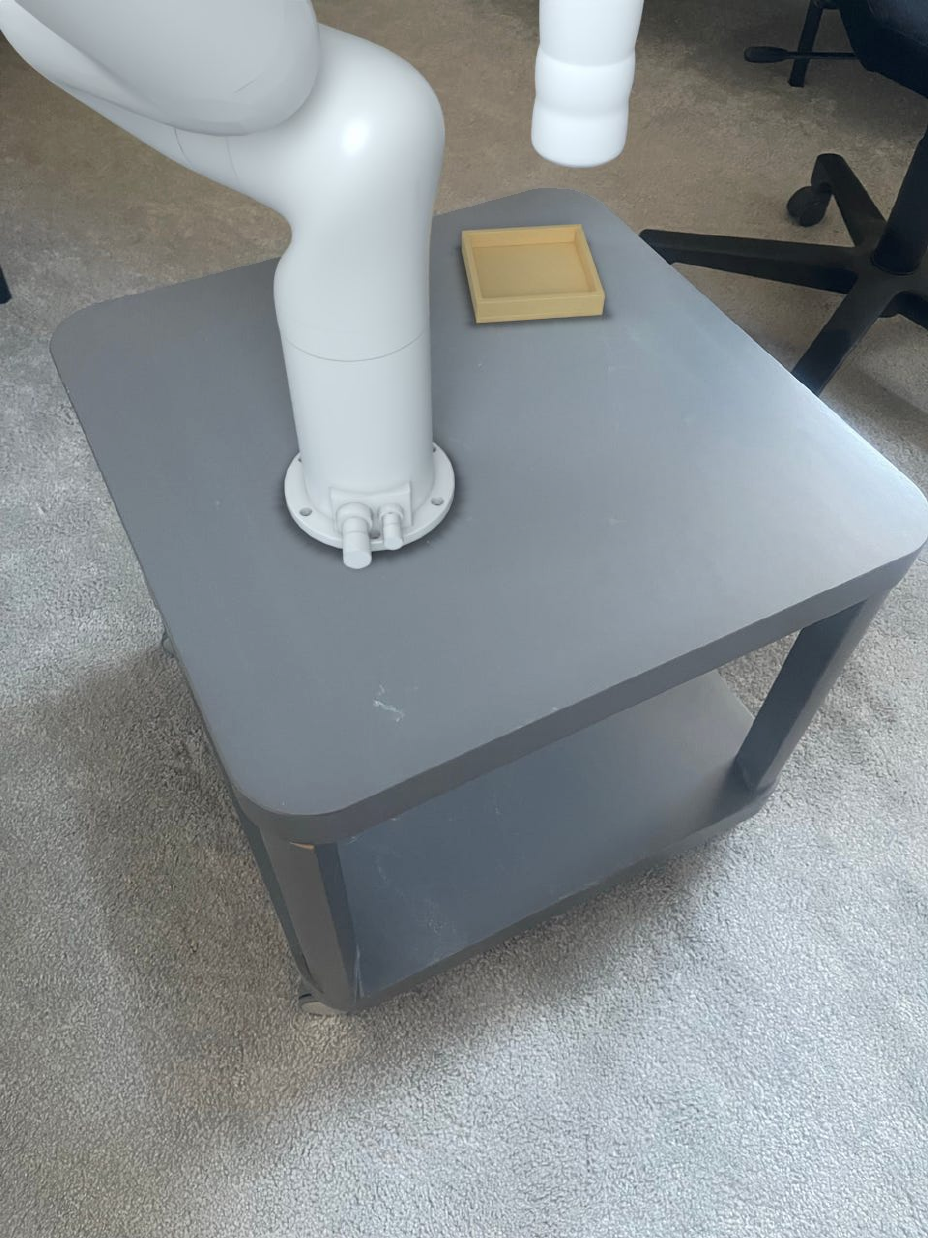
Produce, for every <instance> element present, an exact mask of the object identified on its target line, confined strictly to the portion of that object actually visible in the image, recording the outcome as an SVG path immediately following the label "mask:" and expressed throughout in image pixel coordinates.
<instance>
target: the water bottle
mask: <svg viewBox="0 0 928 1238" xmlns="http://www.w3.org/2000/svg"><path fill="white" fill-rule="evenodd" d="M538 3H539V7H538V8H539V11H538V13H539V14H538V15H539V16H538V19H539V21H538V24H539V25H538V26H539V28H538V29H539V44H538V48H537V52H536V57H535V68H534V87H535V98H534V103H533V108H532V115H531V116H532V117H531V129H530V140H531V145H532V146H533V148H534V150H535V152H536V153H537V154H538V155H540V157H542V158H543V159H545V160H546V161H548V162H550V163H552V164H554V165H557V166H560V167H563V168H564V167H565V168H571V169H591V168H596V167H600V166H603V165H606V164H608V163H610V162H611V161H613V160H615V159H616V158H618V156H619V155H620V154H621V153H622V152H623V150H624V148H625V145H626V141H627V136H628V135H627V134H628V126H629V100H630V95H631V93H632V90H633V86H634V85H633V84H634V79H635V73H636V72H635V70H636V51H635V50H636V49H635V48H636V43H637V40H638V34H639V30H640V26H641V20H642V14H643V8H644V3H645V0H539V2H538Z"/></svg>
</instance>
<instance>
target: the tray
mask: <svg viewBox="0 0 928 1238" xmlns="http://www.w3.org/2000/svg"><path fill="white" fill-rule="evenodd" d="M589 246H590V245H589V243H588V241H587V238H586V235H585V231H584V229H583V226H582V223H573V224H572V223H571V224H557V225H556V224H554V225H539V226H538V225H537V226H522V227H503V228H489V229H488V228H487V229H472V230H471V229H470V230H462V231H461V253H462V258H463V263H464V268H465V272H466V278H467V284H468V288H469V292H470V297H471V298H470V299H471V302H472V307H473V314H474V317H475V322H476V324H486V323H487V324H488V323H503V322H516V321H517V322H518V321H534V320H548V319H562V318H565V319H566V318H578V317H593V316H594V317H595V316H602V315H603V312H604V305H605V298H606V293H605V290H604V287H603V285H602V282H601V279H600V276H599V274H598V271H597V267H596V265H595V261H594V258H593V255H592V252H591V249H590V247H589Z"/></svg>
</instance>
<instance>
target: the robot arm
mask: <svg viewBox="0 0 928 1238" xmlns="http://www.w3.org/2000/svg"><path fill="white" fill-rule="evenodd" d="M314 8H315V7H314V5H313V2H312V0H0V31H1V33H2V34H3V36H4V37H5V39H6V40H7V42H9V44H10V45H11V47H12V48H13V49H14V51H16V53H17V54H18V55H19V56H20V57H21V58H22V59H23V60H24V61H25V62H26V63H27V64H28V65H29V66H30V67H31V68H33V69H34V70H35V71H36V72H38V73H39V74H40V75H41V76H43V77H44V78H45V79H46V80H48V81H49V82H51V83H52V84H54V85H55V86H56V87H58V88H59V89H61V90H63V91H64V92H66V93H67V94H69V95H70V96H72V97H73V98H75V99H76V100H78V101H79V102H81V104H82V103H83V104H84V105H86V106H87V107H88V108H90V109H91V110H93V111H95V112H96V113H98V114H99V115H101V116H103V118H105V119H107V120H109V121H110V122H112V124H114V125H116V126H117V127H119V128H120V129H122V130H124V131H126V132H127V133H128V134H130V135H131V136H133V137H135V138H136V139H138V140H140V141H141V142H143V143H144V144H146V145H147V146H149V147H151V148H152V149H154V150H155V151H157V152H159V153H160V154H162V155H164V156H165V157H167V158H168V159H170V160H171V161H173V162H175V163H177V164H179V165H180V166H181V167H184V168H185V169H188V170H189V171H192V172H194V173H195V174H198V175H200V176H202V177H204V178H206V179H209V180H210V181H213V182H216V183H218V184H219V185H222V186H225V187H227V188H229V189H231V190H233V191H235V192H238V193H240V194H242V195H244V196H246V197H248V198H251V199H253V201H255V202H257V203H259V204H261V205H263V206H266V207H268V208H270V209H272V210H273V211H275V212H277V213H279V214H280V215H281V216H282V217H284V219H285V220H286V221H287V224H288V225H289V227H290V231H291V237H290V239H291V240H290V242H289V244H288V246H287V248H286V250H285V251H284V252H283V254H282V256H280V259H279V260H278V263H277V265H276V268H275V271H274V277H273V302H274V309H275V314H276V322H277V326H278V329H279V335H280V340H281V341H280V342H281V346H282V347H281V348H282V353H283V359H284V365H285V370H286V377H287V378H286V379H287V383H288V389H289V394H290V395H289V396H290V401H291V407H292V413H293V414H292V415H293V420H294V425H295V432H296V437H297V444H298V450H299V452H298V453H297V454H296V455H295V456H294V457H293V459H292V460H291V462H290V464H289V466H288V468H287V470H286V474H285V477H284V496H285V501H286V507H287V510H288V511H289V513H290V516H291V518H292V519H293V520H294V522H295V523H296V524H297V525H298V527H299V528H300V529H301V530H302V531H304V532H305V533H306V534H308V536H310V537H311V538H313V539H315V540H317V541H318V542H321V543H323V544H325V545H328V546H331V547H333V548H336V549H341V550H342V558H343V564H344V565H345V566H346V567H347V568H350V569H353V570H358V569H359V570H361V569H364V568H366V567H368V566H369V565H370V564H371V563H372V559H373V555H372V552H379V551H388V550H389V551H396V550H399V549H401V548H402V547H403V546H406V545H409V544H410V543H413V542H416V541H417V540H419V539H421V538H423V537H424V536H426V535H427V534H429V533H430V532H432V531H433V530H435V528H436V527H437V526H438V525H439V524H440V523H441V522H442V521H443V520H444V519H445V517H446V516H447V514H448V513H449V511H450V509H451V507H452V504H453V501H454V498H455V491H456V484H455V483H456V482H455V481H456V479H455V471H454V469H453V468H454V467H453V465H452V464H453V463H452V462H451V460H450V458H449V457H448V455H447V454H446V452H445V451H444V450H443V449H442V448H441V446H439V445H438V444H437V442H435V441H434V435H433V432H434V431H433V394H432V393H433V392H432V391H433V389H432V353H431V351H432V350H431V348H432V346H431V309H430V308H431V307H430V253H431V252H430V251H431V235H432V227H433V226H432V225H433V218H434V212H435V206H436V205H435V204H436V200H437V194H438V188H439V185H440V184H439V183H440V179H441V173H442V169H443V162H444V156H445V147H446V125H445V117H444V114H443V110H442V106H441V104H440V101H439V98H438V96H437V94H436V92H435V91H434V89H433V87H432V85H431V84H430V83H429V82H428V81H427V79H426V78H425V76H424V75H422V73H420V71H418V69H416V67H415V66H413V65H412V64H411V63H409V62H408V61H406V60H405V59H404V58H403V57H401V56H399V55H398V54H396V53H394V52H393V51H391V50H389V49H387V48H386V47H385V46H382V45H380V44H377V43H374V42H373V41H371V40H369V39H365V38H363V37H360V36H357V35H355V34H352V33H349V32H346V31H344V30H340V29H338V28H335V27H332V26H329V25H326V24H323V23H321V22H318V19H317V15H316V11H315V9H314Z"/></svg>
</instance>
